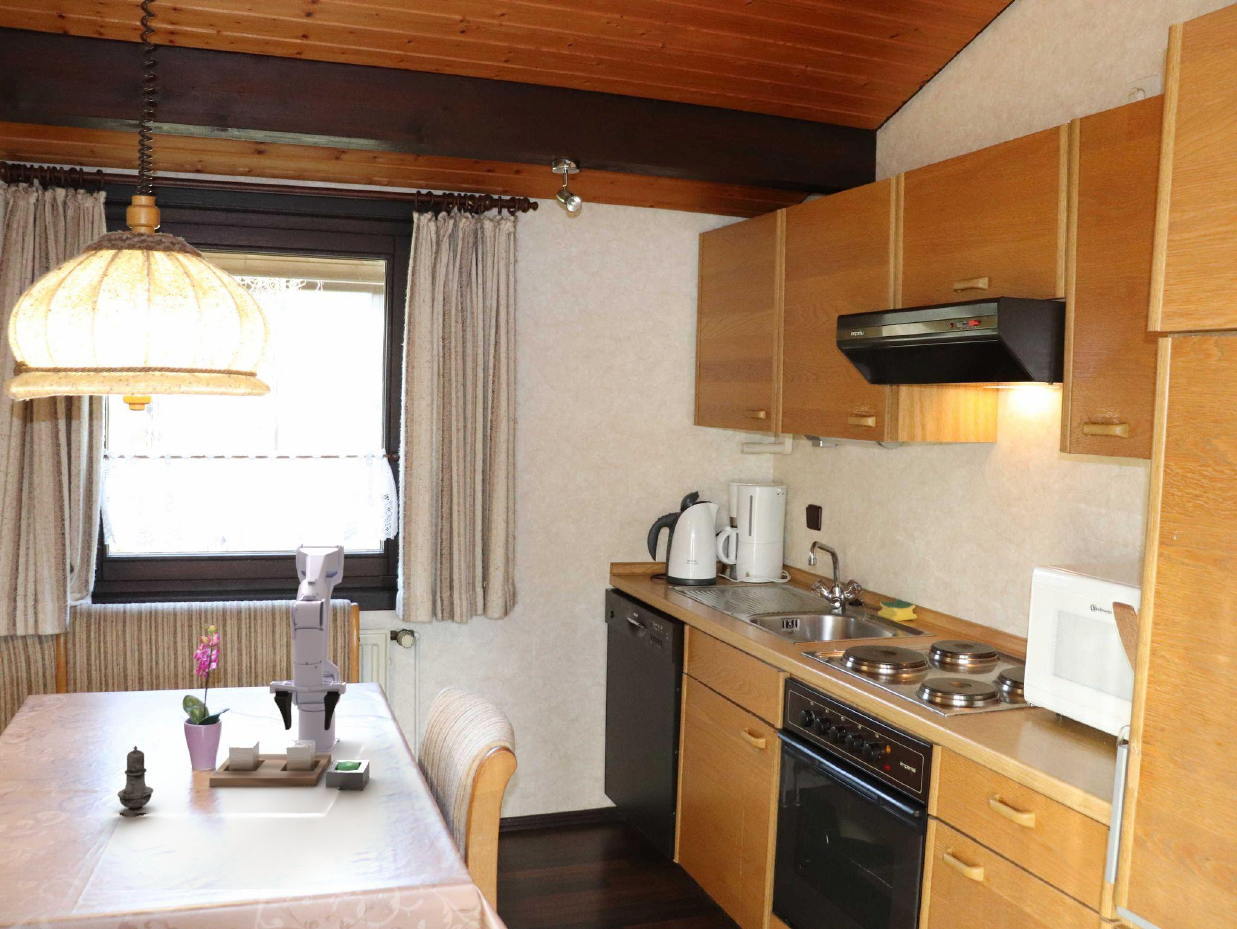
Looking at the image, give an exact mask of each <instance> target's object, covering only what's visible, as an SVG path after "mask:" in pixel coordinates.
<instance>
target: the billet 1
mask: <svg viewBox="0 0 1237 929" xmlns="http://www.w3.org/2000/svg"><path fill="white" fill-rule="evenodd" d="M259 754H260V740H259V739H236V740H235V741H234V742H232V744H230V746H229V747H228V757H229V771H257V770H258V769H259Z"/></svg>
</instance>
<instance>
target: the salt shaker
mask: <svg viewBox="0 0 1237 929" xmlns="http://www.w3.org/2000/svg"><path fill="white" fill-rule="evenodd" d="M146 772H147V768H145V753H144V752H143V751H142V750H139V749H138V746H137V745H135V746H134V747H133V750H131V751H130V752H128V754H127V755H126V770H125V771H124V774H125V775H126V776H125V777H126V780H125V781H126V783H125V787H124V788H123V789H121V790H119V791H118V792H117V796H118V798H119V802H120V804H121V805H122V806H123V807H125V808H127V809H128V810H129V811H132V812H119V813H120V814H119V816H121V815H122V816H121V817H123V816H124V818H136V816H138V817H140V816H139V815H142V816H145V815H147V814H146V813H147V812H134V811H140V810H141V809H143V807H144V806H145V805H147V804H148V803H149V802H150V800H151V798H152V794H153V792H154V788H152V786H151V787H150V786H147V785H146V781H145V776H146ZM144 814H145V815H144Z"/></svg>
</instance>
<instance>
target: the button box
mask: <svg viewBox="0 0 1237 929" xmlns="http://www.w3.org/2000/svg"><path fill="white" fill-rule="evenodd" d="M345 761H355V762H358V763H359V769H358V770H338V764H339V763H341V762H345ZM369 779H370V759H365V760H364V759H362V760H361V759H353V760H352V759H350V760H349V759H348V760H347V759H342V760H341V759H333V761H331V763H330V765H329V766H328V768H327V770H326V771H325V788H337V791H364V789H365V787H366V785H367V783H368V781H369Z"/></svg>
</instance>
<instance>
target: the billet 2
mask: <svg viewBox="0 0 1237 929" xmlns="http://www.w3.org/2000/svg"><path fill="white" fill-rule="evenodd" d="M286 754H287V771H314V770H315V754H316V751H315V740H299V739H292V740H291V741H290V743H289V744H288V745H287V746H286Z"/></svg>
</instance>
